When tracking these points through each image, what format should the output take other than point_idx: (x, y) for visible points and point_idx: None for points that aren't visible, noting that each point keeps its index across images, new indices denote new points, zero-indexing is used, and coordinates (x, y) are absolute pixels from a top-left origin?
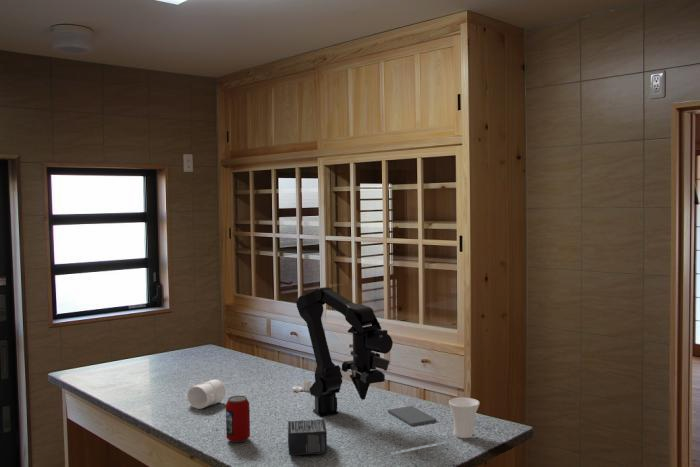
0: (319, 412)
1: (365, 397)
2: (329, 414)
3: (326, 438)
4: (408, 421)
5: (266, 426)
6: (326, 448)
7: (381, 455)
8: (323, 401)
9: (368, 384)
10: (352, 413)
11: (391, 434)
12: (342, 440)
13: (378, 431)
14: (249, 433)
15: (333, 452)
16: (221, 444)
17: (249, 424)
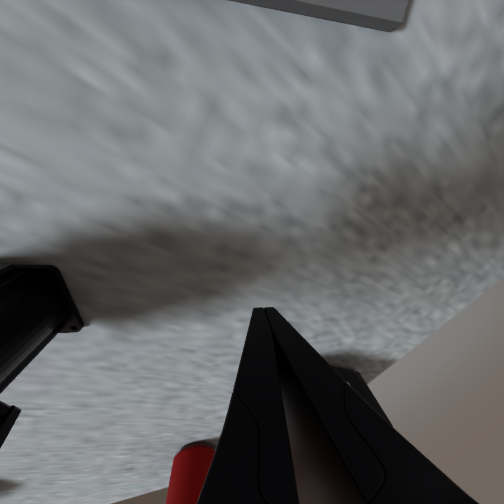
0: (57, 332)
1: (281, 315)
2: (71, 300)
3: (380, 406)
4: (369, 9)
5: (139, 423)
6: (365, 382)
7: (451, 293)
8: (15, 365)
9: (424, 479)
10: (66, 210)
11: (385, 196)
12: (317, 330)
13: (330, 222)
14: (205, 456)
15: (358, 358)
16: None
17: (202, 482)
